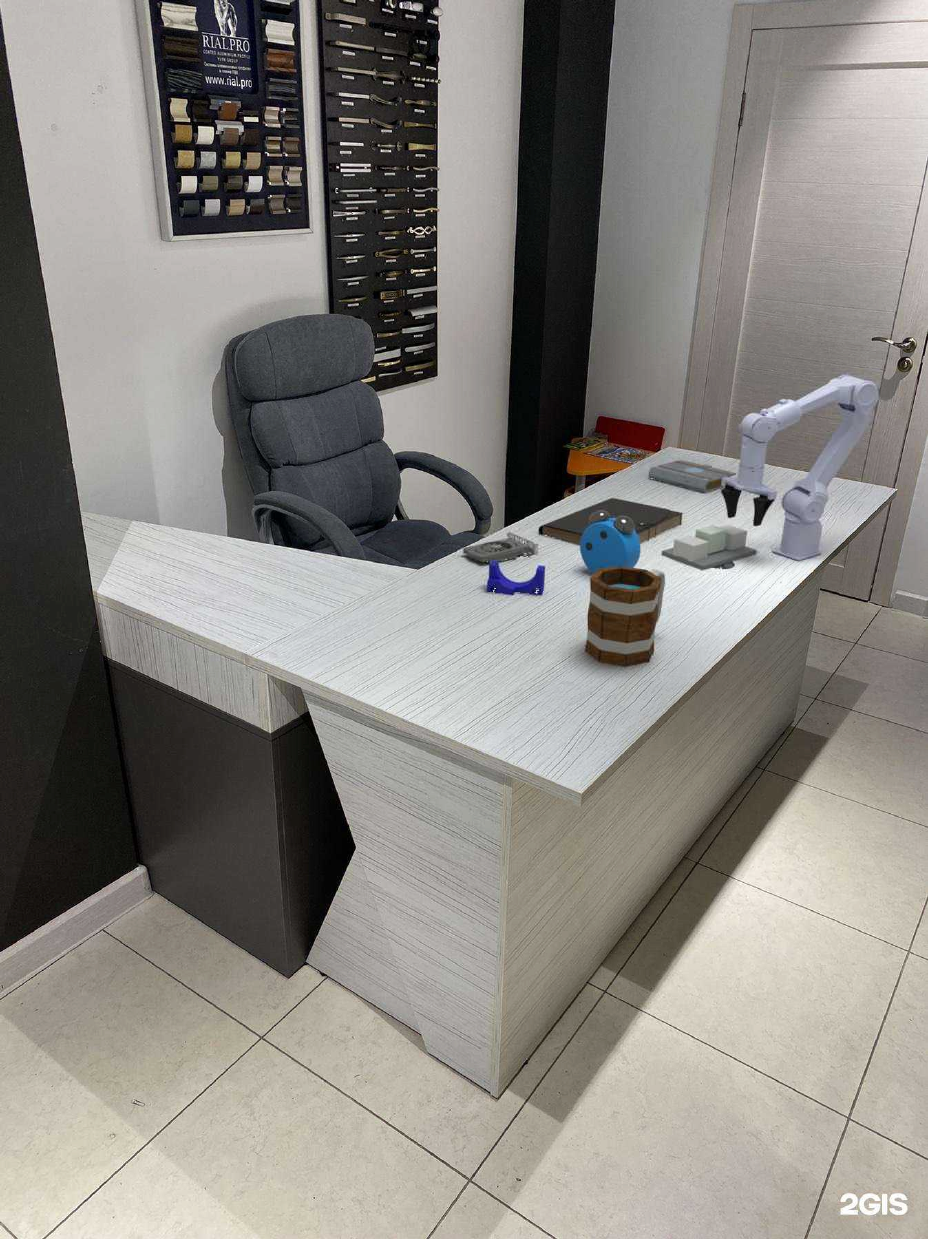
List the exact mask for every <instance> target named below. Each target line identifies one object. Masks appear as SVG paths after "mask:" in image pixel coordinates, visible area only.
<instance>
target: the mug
mask: <svg viewBox="0 0 928 1239" xmlns="http://www.w3.org/2000/svg"><path fill="white" fill-rule="evenodd" d="M589 585H590V586H589V587H590V591H589V592H590V594H589V603H588V604H589V605H588V608H587V616H586V617H587V633H586V642H585V647H584V653H586V654H588V655H589V656H591V657H592V659H594V660H595V661H597V662H598V663H601V664H608V665H614V666H620V667H625V668H626V667H632V666H636V665H641V664H646V663H650V661H651V659H652V656H653V654H654V652H655V631H656V626H657V623H658V622H659V620H660V617H661V614H662V606H663V599H664V598H663V596H664V591H665V587H666V575H665V572H663V571H662V570H658V569H653V568H652V569H651V570H650V571H649V570H648V569H644V568H637V567H633V568H631V567H624V566H616V567H609V568H603V569H597V570H596V571H595V572H594V573H592V575H591V576H590V577H589Z"/></svg>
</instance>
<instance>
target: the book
mask: <svg viewBox="0 0 928 1239" xmlns="http://www.w3.org/2000/svg"><path fill="white" fill-rule="evenodd" d="M736 475H738V472H733V471H729V470H724V469H721V468H717V467H712V465H710V464H700V463H696V462H692V461H688V460H684V459H678V460H675V461H671V462H667V463H663V464H658V465H656V466H651V467H650V469H649V471H648V477H649V479H650V478H653V479H655V480H654V481H656V480H660V481H662V482H661V483H664V482H666V483H665V484H668V483H669V485H671V484H674V485H673V486H675V485H677V486H676V487H679V486H682V487H681V488H683V487H684V488H683V489H686V488H687V489H686V490H690V489H692V490H691V491H694V490H695V491H694V492H698V491H699V493H702V494H705V493H706V494H708V493H712V491H713V492H715V491H718V489H719V490H721V489H722V488H723V489H724V487H725V486H721V484H722V478H724V477H730V478H732V477H733V476H736ZM660 481H659V482H660Z"/></svg>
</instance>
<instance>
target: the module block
mask: <svg viewBox="0 0 928 1239" xmlns="http://www.w3.org/2000/svg"><path fill="white" fill-rule="evenodd" d="M719 527H720V526H716V525H713V524H712V525H708V526H704V527H701V528H697V529H696V530H695V536H694V537H696V538H699V539H702V540H705V541H708V542H709V545H708V554H710V553H713V552H717V551H720V550H724V548H725V540H726V532H727V530H725V529H722V528H719Z"/></svg>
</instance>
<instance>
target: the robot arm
mask: <svg viewBox="0 0 928 1239" xmlns="http://www.w3.org/2000/svg"><path fill="white" fill-rule="evenodd" d="M879 400H880V393H879V390H878V386H877V384H876V383H875V382H874V381H872V380H866V379H862V378H858V377H855V376H852V375H850V374H842V375H840V376H838V377H837V378H832V379H830V380H829V381H828V383H827V384H825V385H822V386H821V387H819V388H817V389H816V390H814V391H812V392H810V393H808V394H806V395H805V396H802V397H801V398H799V399H797V400H793V399H789V398H788V399H785V398H782V399H780V400H778V402H779V403H777V404H775V405H773V406H770V407H769V408H763V409H761V410H760V412H759V413H756V412H751V413H749V414H747V415H746V416H744V418H743V420H742V421H741V423H740V424H739V425H738V430H739V432H740V435H741V448H740V457H739V463H738V472H737V478H734V477H724V478H722V484H721V486H725V488H723V489H720V493H721V494H722V497H723V500H724V503H725V508H726V514H727V518H728V519H731V518H735V517H736V515H737V509H738V505H739V501H740V500H739V499H740V497H741V493H742V491H743V492H745V493H750V494H753V495H756V496H757V497H754V498H753V499H752V501H753V509H754V512H753V520H752V521H753V522H752V524H753V527H759V526H762V523H763V521H764V518H765V517H766V516H765V515H766V513H767V511H768V510H769V509H770V507H771V506H772V504H773V503H774V502H775V500H776V499H777V497H778V496H777V495H778V490H777V489H774V488H772V487H769V486H767V485H765V484H763V479H764V478H763V477H764V472H765V464H766V457H767V450H768V444H769V441H770V440H771V439H772V438H773V436H775V434H776V433H777V432H780V431H781V430H783V429H785V428H788V427H790V426H792V425H794V424H796V423H798V422H800V421H801V420H800V419H801V417H802V415H804V414H807V413H809V412H812V411H814V410H816V409H819V408H822V407H824V406H826V405H829V404H831V403H836V405H837V407H838V408H839V409H840V412H841V416H842V420H841V422H840V424H839V425H838V427H837V429H836V430H835V432H834V433H833V435H832V436H831V438H830V440H829V441H828V443H827V444H826V445H825V447H824V449H823V451H822V452H821V453H820V455H819V456H818V458H817V460H816V461H815V463H814V464H813V466H812V467H811V469H810V470H809V472H808V474H807V476H805V477H803V478H801V479H799V480H797V481H795V483H794V484H793V486H792V487H791V488H790V489H788V490H787V491H786V492H785V493H784V494H783V495H782V498H781V501H780V502H781V507H782V509H783V511H784V521H783V526H782V527H783V528H782V535H781V542H780V547H776V548H774V549H771V550H772V553H775V554H778V555H780V556H783V557H786V558H790V559H793V560H796V561H803V560H805V559H808V558H811V557H814V556H817V555H820V554H822V551H821V550H819V549H820V544H821V537H822V532H823V525H822V523H821V521H820V519H821V518H822V517H823V514H824V512H825V508H826V504H827V503H828V501H829V499H830V498H829V493H828V487H829V486H830V484H831V482H832V481H833V479H834V478H835V476H836V475H837V473H838V471H839V470H840V468H841V467H842V466H843V464H844V463H845V461H846V460H847V458H848V456H849V455H850V453H851V452H852V451H853V449H854V448H855V446H856V444H857V443H858V441H859V440H860V438H862V435H863V433H865V430H866V429H867V428H868V426H869V424H870V422H871V418H872V415H873V410H874V408H875V406H876V405H877V403H878V402H879Z"/></svg>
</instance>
